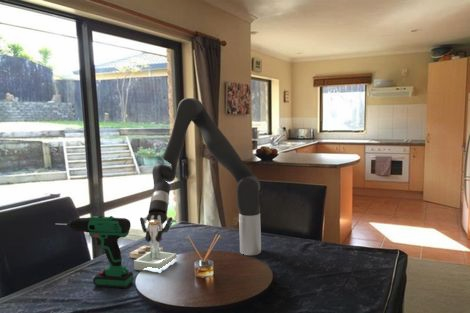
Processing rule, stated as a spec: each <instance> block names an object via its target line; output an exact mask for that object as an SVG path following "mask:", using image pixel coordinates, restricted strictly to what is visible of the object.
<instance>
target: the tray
mask: <svg viewBox="0 0 470 313" xmlns="http://www.w3.org/2000/svg"><path fill="white" fill-rule="evenodd" d="M165 258H166V259H165ZM175 258H177V253H175V252H174V253H173V252H165V251H163V252H160V257H159V258H157V259H151V256H150V252H148V253H147V254H145V255H143V256H141V257H140V258H138V259H137V258H135V260H133V267H134V268H133V269H134V270H136V271H141V270H143V269H144V268H147V267H152V268H158V269H160V268H162V267H163V266H165V265H166V264H168V263H169V262H171V261H172V260H173V259H175ZM161 259H165V260H163V261H162V262H160V263H154V262H156V261H158V260H161Z"/></svg>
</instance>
